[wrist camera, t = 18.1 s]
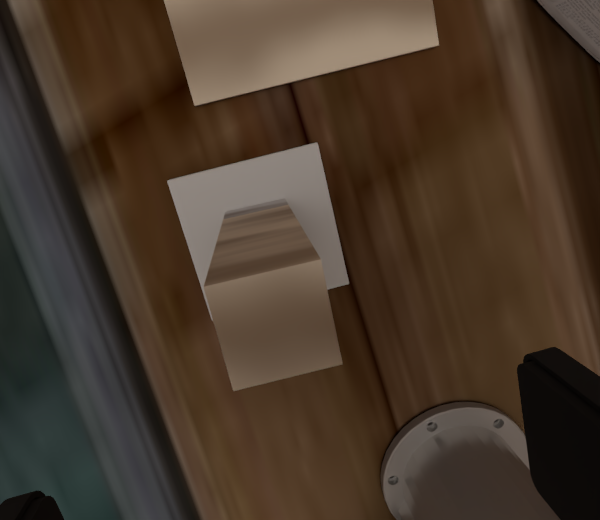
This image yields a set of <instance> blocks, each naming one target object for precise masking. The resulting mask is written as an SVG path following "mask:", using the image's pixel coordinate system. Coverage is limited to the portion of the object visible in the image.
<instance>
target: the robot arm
mask: <svg viewBox="0 0 600 520" xmlns="http://www.w3.org/2000/svg"><path fill="white" fill-rule="evenodd" d="M517 373H518V381H519V389H520V397H521V405H522V413H523V421H524V429H525V435H524V433H523V432H522V431H521V429H520V428H519V427H518V426H517V424H516V423H515V422H514V421H513V420H512V419H511V418H510V417H509V416H507V415H506V414H505V413H503V412H502V411H500V410H498V409H497V408H494V407H492V406H489V405H486V404H482V403H475V402H455V403H450V404H445V405H441V406H438V407H436V408H433V409H431V410H428V411H426V412H424V413H423V414H421V415H419V416H418V417H416V418H414V419H413V420H412V421H411V422H410V423H408V424H407V425H406V426H405V427H404V428H403V429H402V430H401V431H400V432H399V433H398V434H397V436H396V437H395V438H394V439H393V441H392V442H391V444H390V446H389V448H388V449H387V451H386V454H385V457H384V460H383V462H382V467H381V475H380V479H381V489H382V492H383V495H384V498H385V501H386V503H387V505H388V508H389V510H390V512H391V513H392V515H393V516H394V517H395V518H396V520H600V376H598V375H597V374H595V373H594V372H592V371H591V370H589V369H588V368H586V367H585V366H583V365H582V364H580V363H579V362H578V361H576V360H575V359H573V358H572V357H570V356H569V355H567V354H566V353H564V352H563V351H561V350H560V349H558V348H556V347H551V348H548V349H544V350H541V351H537V352H533V353H530V354H527V355H525V356H524V360H523V363H522V364H519V365H518V368H517ZM525 436H526V437H525ZM0 520H64V518H63V516H62V514H61V512H60V510H59V508H58V506H57V503H56V501H55V500H54V498H53V497H51V496H45V494H44V493H42V492H41V491H34V492H30V493H27V494H23V495H20V496H16V497H12V498H9V499H7V500H5V501H4V502H3V503H2V504H1V505H0Z"/></svg>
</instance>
